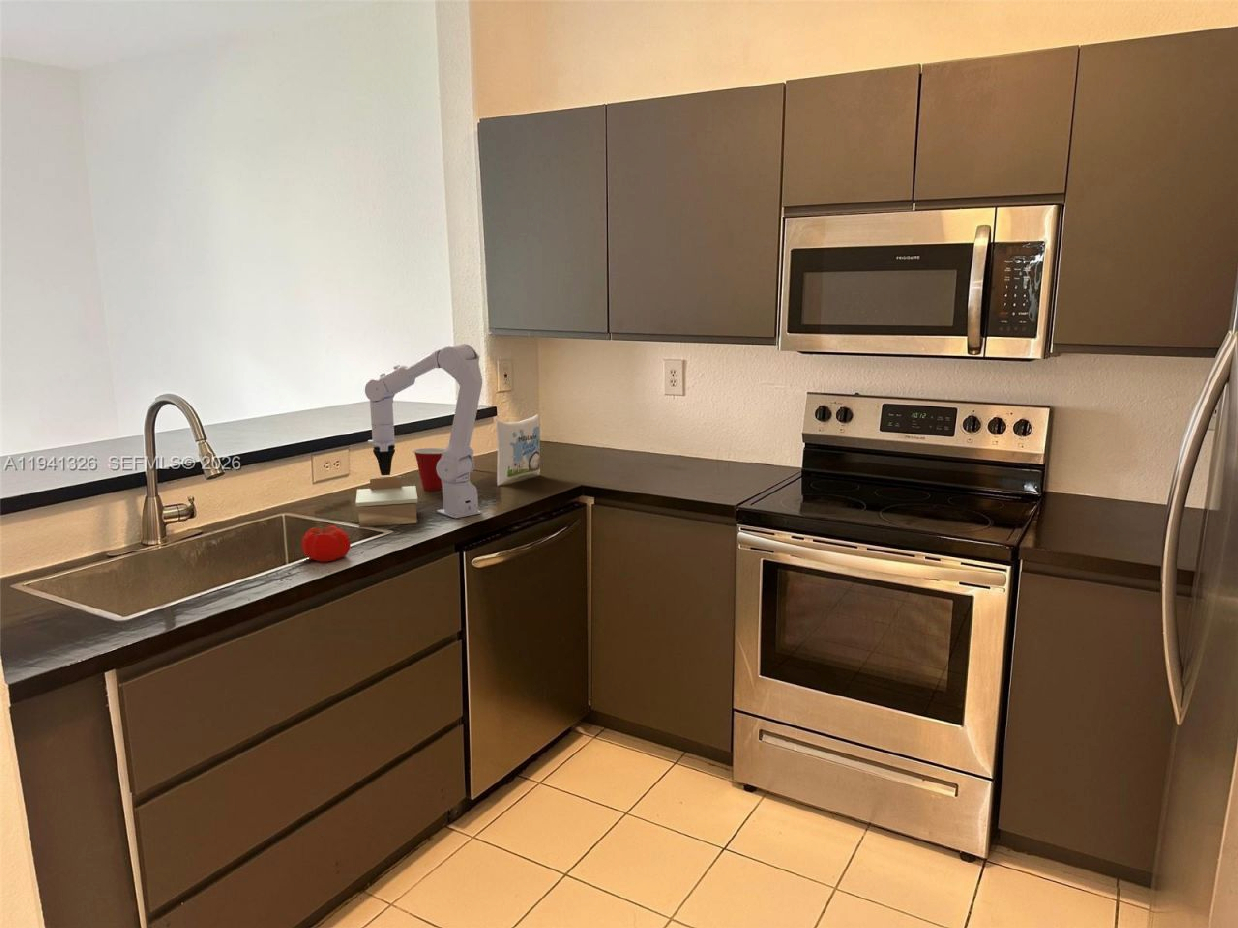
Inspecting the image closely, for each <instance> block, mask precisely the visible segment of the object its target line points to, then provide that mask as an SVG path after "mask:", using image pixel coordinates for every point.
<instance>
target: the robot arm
mask: <svg viewBox="0 0 1238 928" xmlns="http://www.w3.org/2000/svg"><path fill="white" fill-rule="evenodd" d="M479 361H480V355H479V354H478V353H477V351H476V350H475V349H474V347H473V346H471V345H469V344H467V343H466V344H461V345H455V346H445V347H443V348H441V349H438V350H435V351H433V352H431V353H430V354H428V355H426V356H425V357H423V358H421V359H420V360H418V361H417V362H415V363H413V364H412V365H410V366H407V365H400V364H398V365H394V366H393V370H391V371H389V372H387V373H381V374H380V375H379V376H380V377H379V378H378V379H375V378H373V379H370V380H369V381H368V382H367V383H366V384H365V386H364V394H365V396H366V398H367V399H368V400H369V404H370V405H369V406H370V407H369V408H370V421H371V437H372V439H368V440H367V443H368V444H372V445H373V446H372V447H373V449H372V452H373V454H374V456H375V457H376V460H377V464H378V466H379V471H380V475H381V476H390V475H391V470H392V460H393V456H394V455H395V452H396V449H395V447H396V446H395V445H396V444H395V443H396V438H395V425H394V424H395V423H394V409H393V404H394V397H395V396H396V394H398V393H400V392H402V391H404V390H406V389H408V388H410V387H412V386H414V385H415V382H416V378H418V377H420V376H422V375H425V374H426V373H428V372H431V371H432V370H435V369H442V370H443V371H445V372H446V374H448V375H450V376H451V377H452V378H453V379H454V380H455V381H456V382H457V384H458V385H459V388H458V389H459V390H458V395H457V401H456V405H455V409H454V416H453V420H452V426H451V431H450V435H449V441H448V444H446V445H447V446H446V447H445V448H444V449H445V450H444V451H443V454H442V457H441V459H440V461H439V462H438V463H437V467H436V470H437V474H438V476H439V477H440V478H441V479H442V485H443V488H442V500H443V501H442V503H443V509H437V511H436V512H437V513H439V514H441V515H445V516H448V517H450V518H454V519H459V518H464V517H470V516H475V515H479V514H482V511H480V510H479V499H478V497H479V496H478V490H477V489H478V488H477V487H476V486H475V485H474V484H473V483H472V482H471V473H472V472H473V471H474V468H475V461H474V450H473V448H472V447H471V441H472V437H473V432H474V426H475V421H476V416H477V411H478V406H479V401H480V398H481V397H480V396H481V392H482V387H483V376H482V374H481V369H480V368H481V367H480V364H479V363H480V362H479ZM374 445H375V446H374Z"/></svg>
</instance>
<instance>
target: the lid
mask: <svg viewBox="0 0 1238 928" xmlns="http://www.w3.org/2000/svg"><path fill="white" fill-rule="evenodd" d="M369 484H370V488H363V489H356V495H355V507H356V508H358V507H359V506H373V505H388V504H402V503H418V496H417V495H418V494H417V489H416V485H409V486H407V485H406V486H403V484H402V476H400V475H399V476H383V477H382V476H381V477H369Z"/></svg>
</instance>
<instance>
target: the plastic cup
mask: <svg viewBox="0 0 1238 928" xmlns="http://www.w3.org/2000/svg"><path fill="white" fill-rule="evenodd" d="M444 450H445V448H438V447H437V448H434V447H429V448H427V447H425V448H416V449H413V450H412V452H413V454H414V456H415V457H414V458H415V460H416V464H417V469H418V473H419V478H420V482H421V485H422V489H423V490H424V491H430V492H433V491H434V492H435V491H439V490H440V491H441V490H443V485H442V479H441V478H440V477H439V476H438V474H437V470H436V467H437V463H438V462H439V461H440V459H441V457H442V454H443V451H444Z"/></svg>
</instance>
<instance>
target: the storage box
mask: <svg viewBox="0 0 1238 928" xmlns="http://www.w3.org/2000/svg"><path fill="white" fill-rule="evenodd" d="M416 507H417V506H416V503H402V504H388V505H373V506H359V507H357V515H358V527H359V528H360V527H363V528H364V527H377V526H388V525H389V526H390V525H391V526H392V525H401V524H402V525H403V524H415V523H418V522H417V521H418V520H417V508H416Z"/></svg>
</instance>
